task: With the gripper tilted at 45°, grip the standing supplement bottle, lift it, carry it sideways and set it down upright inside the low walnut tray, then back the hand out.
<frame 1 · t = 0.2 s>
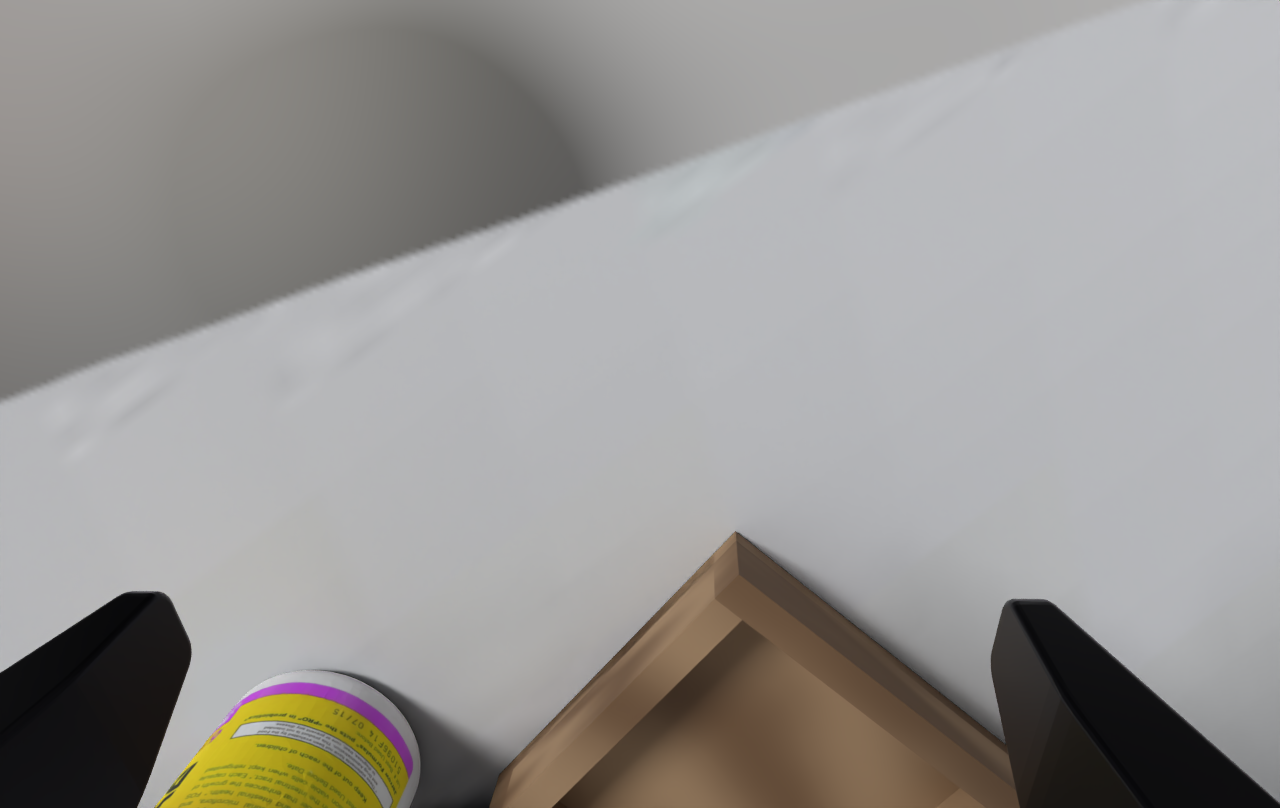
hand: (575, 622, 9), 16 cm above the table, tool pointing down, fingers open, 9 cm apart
supplement bottle: (332, 741, 30), on the table
walnut tray: (752, 765, 29), on the table
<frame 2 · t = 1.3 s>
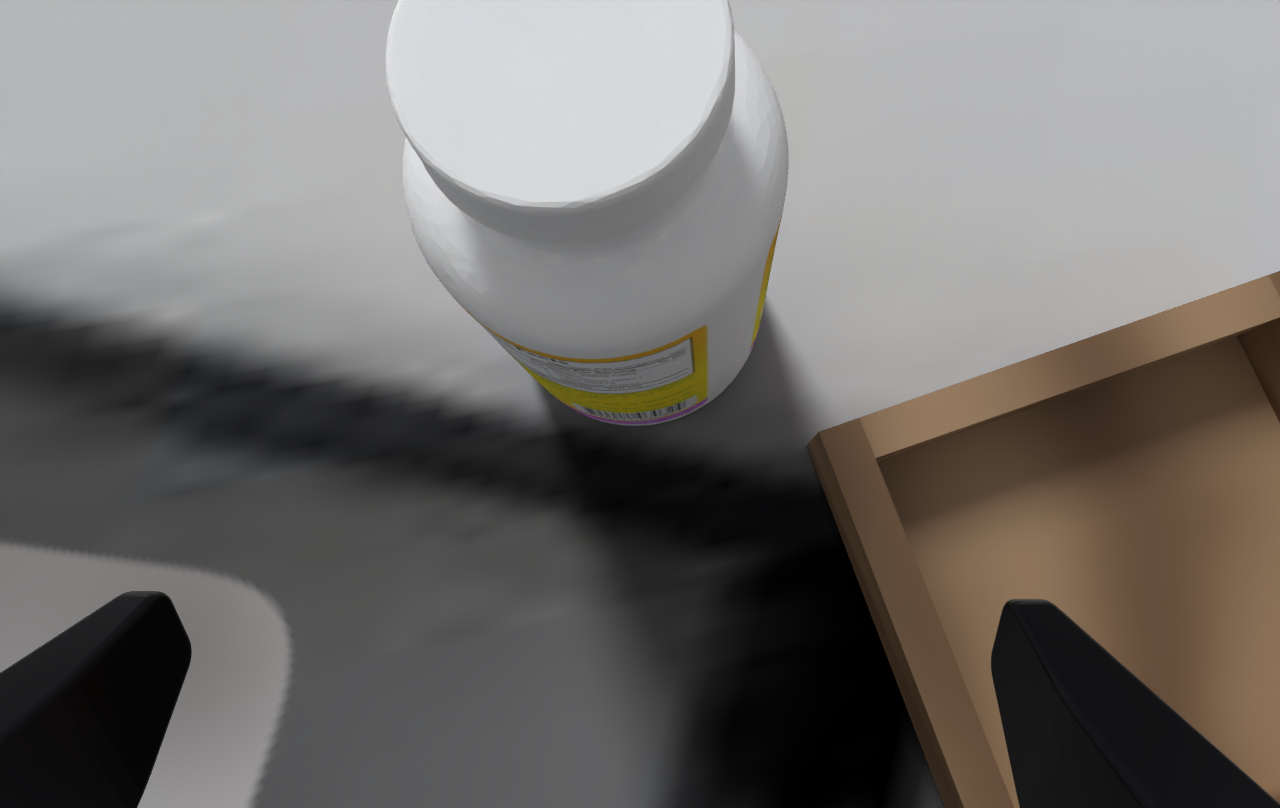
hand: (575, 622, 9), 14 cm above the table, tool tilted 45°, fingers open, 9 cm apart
supplement bottle: (637, 313, 24), on the table
walnut tray: (1121, 592, 22), on the table
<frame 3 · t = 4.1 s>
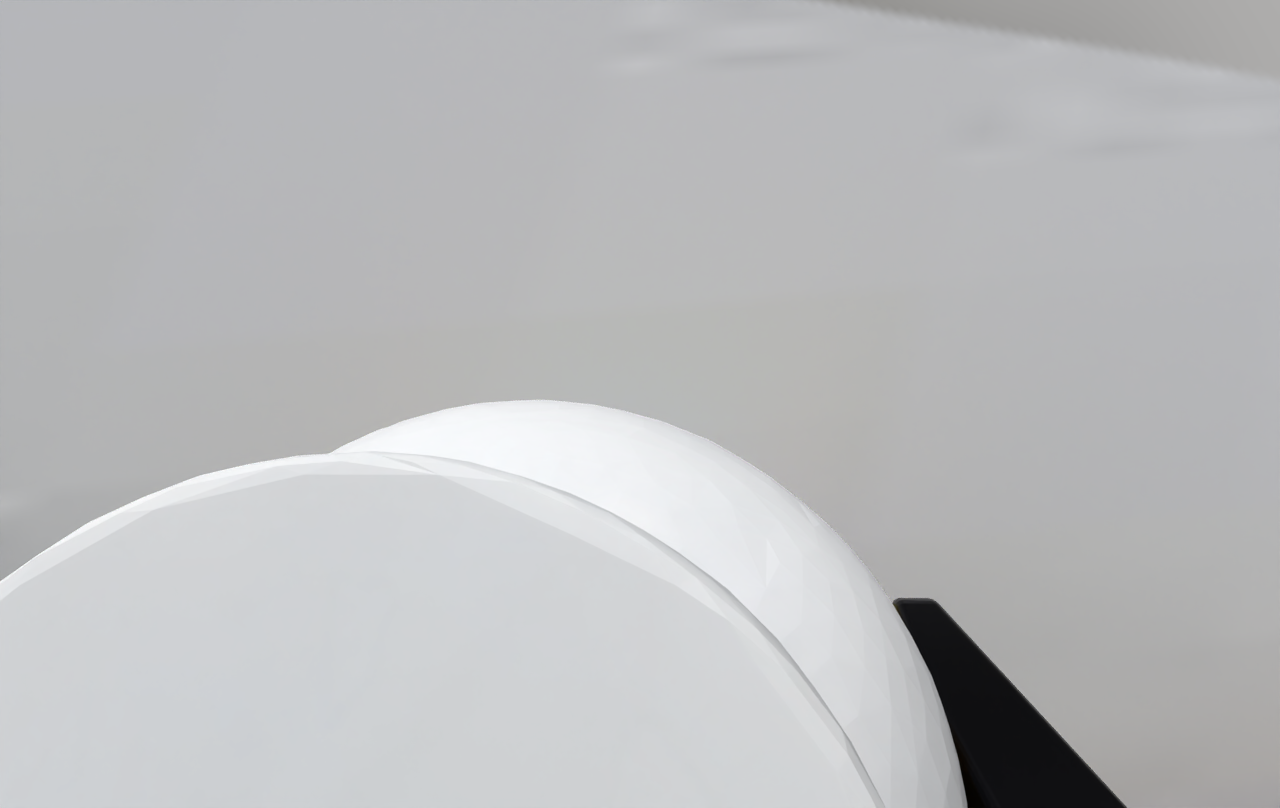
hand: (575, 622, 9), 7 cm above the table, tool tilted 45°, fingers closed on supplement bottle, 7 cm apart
supplement bottle: (628, 690, 16), on the table, touching gripper
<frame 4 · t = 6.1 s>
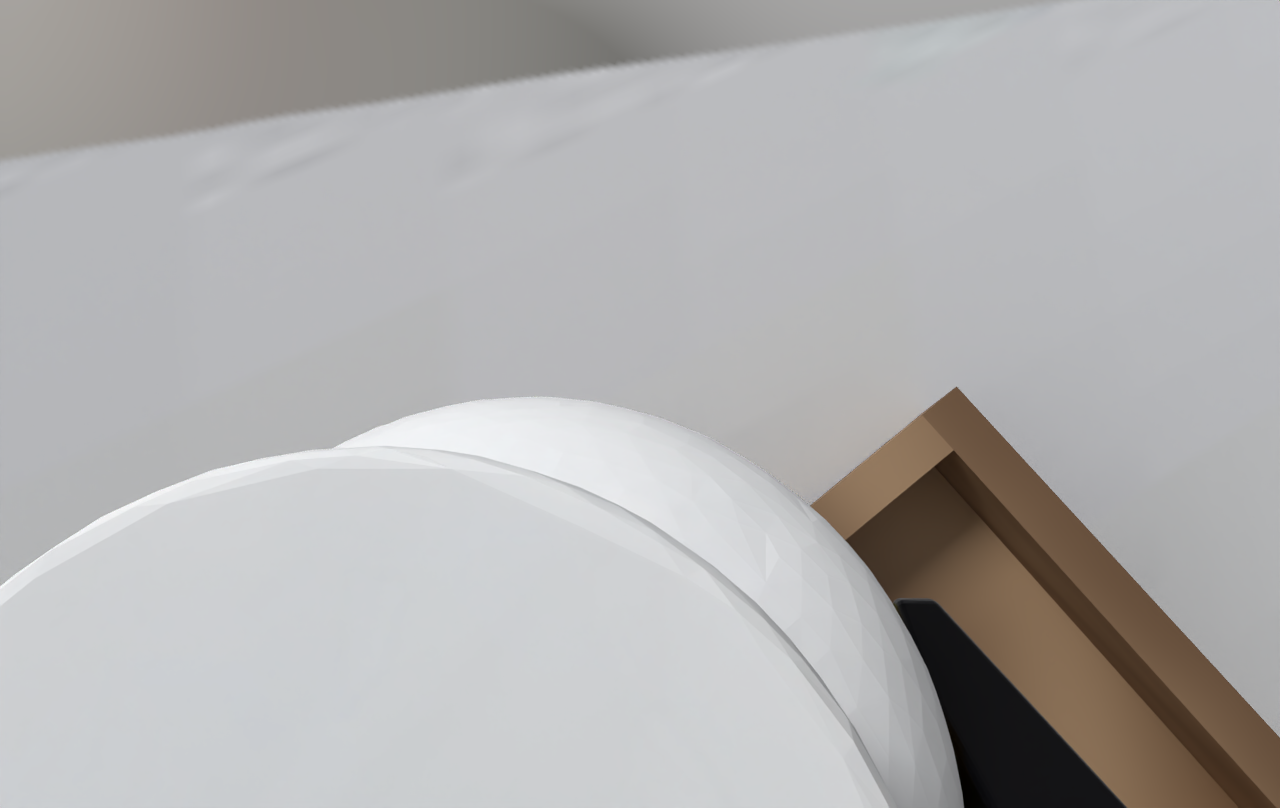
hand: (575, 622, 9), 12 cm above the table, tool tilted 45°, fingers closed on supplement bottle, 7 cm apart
supplement bottle: (621, 687, 16), point 5 cm above the table, touching gripper
walnut tray: (909, 768, 20), on the table
when the fingers open (8 cm above the table, at t = 8.5 s): supplement bottle stays where it is, resting on walnut tray.
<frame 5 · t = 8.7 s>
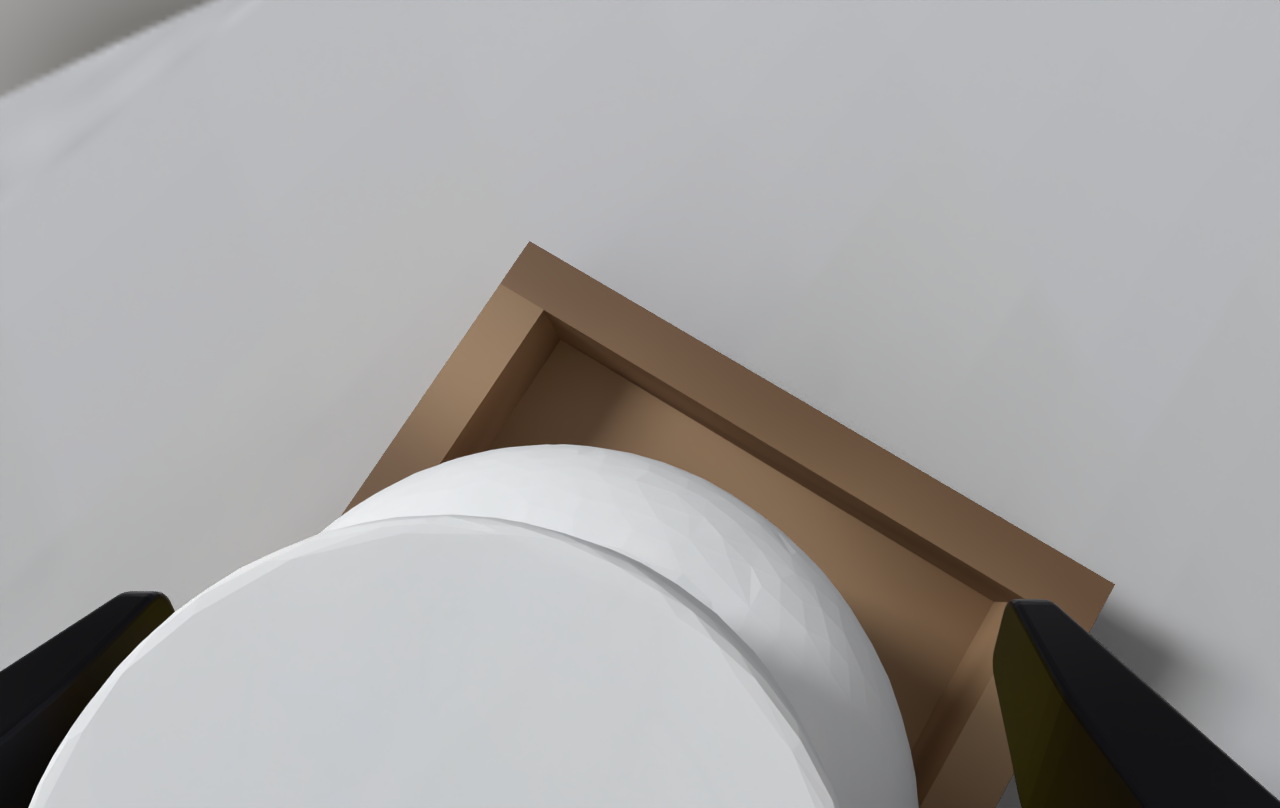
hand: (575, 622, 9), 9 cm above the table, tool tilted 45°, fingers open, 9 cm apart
supplement bottle: (630, 689, 17), resting on walnut tray
walnut tray: (635, 680, 18), on the table
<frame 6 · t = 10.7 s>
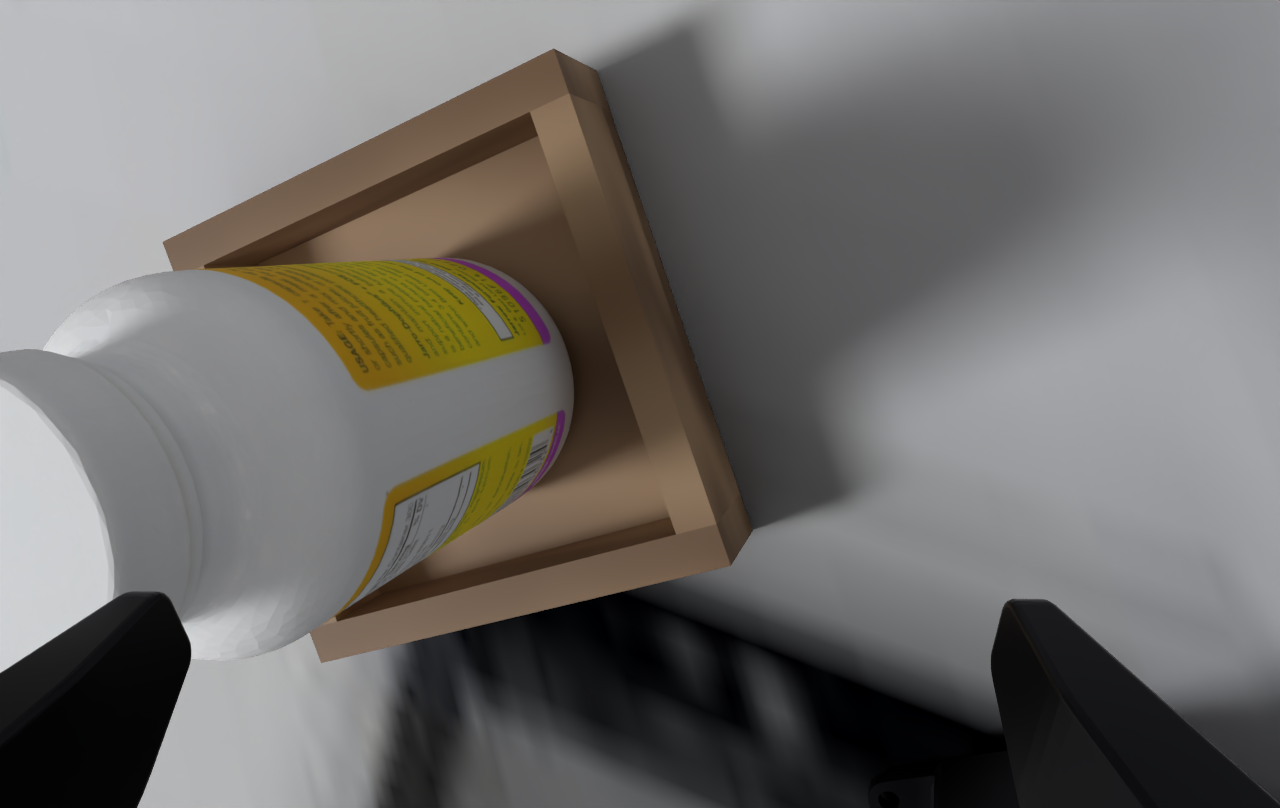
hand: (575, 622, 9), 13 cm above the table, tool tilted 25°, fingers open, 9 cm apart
supplement bottle: (470, 383, 24), resting on walnut tray
walnut tray: (475, 376, 24), on the table
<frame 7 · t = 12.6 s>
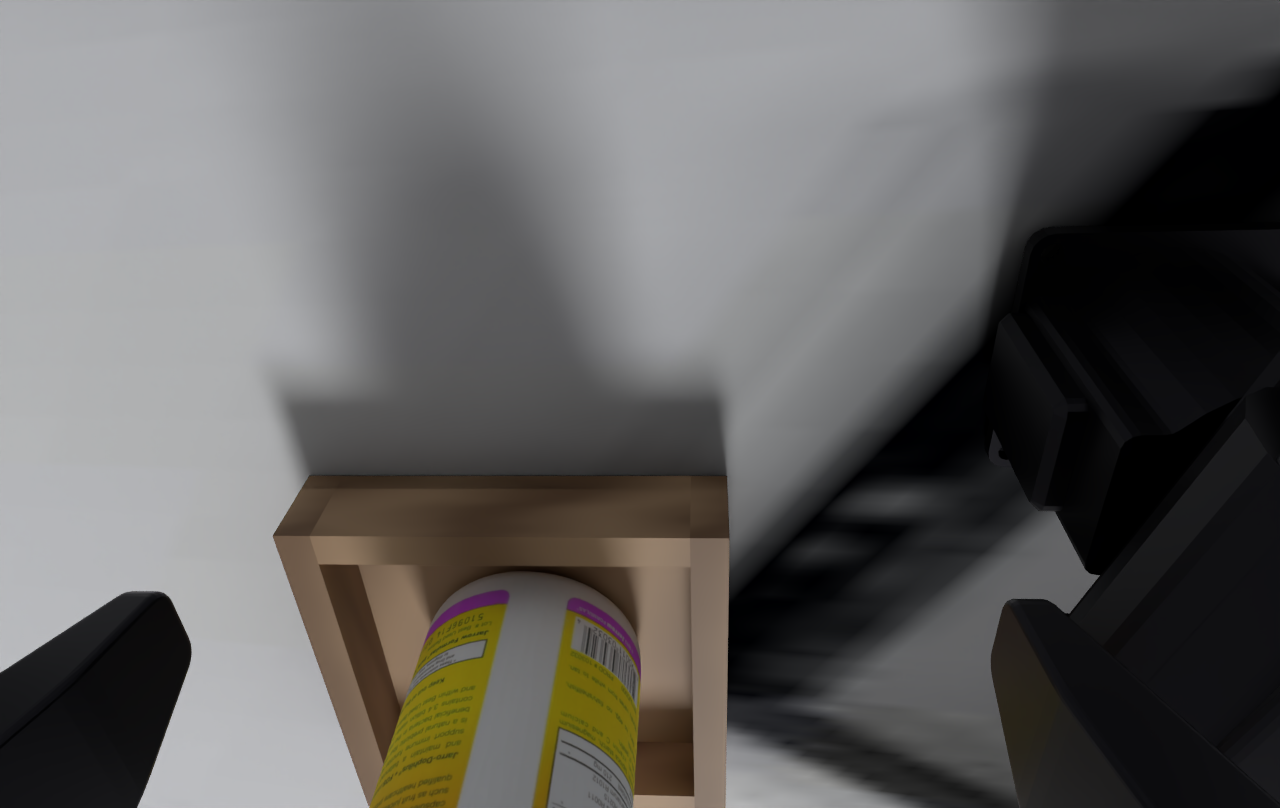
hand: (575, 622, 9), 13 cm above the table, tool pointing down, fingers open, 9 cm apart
supplement bottle: (539, 634, 28), resting on walnut tray
walnut tray: (537, 624, 28), on the table
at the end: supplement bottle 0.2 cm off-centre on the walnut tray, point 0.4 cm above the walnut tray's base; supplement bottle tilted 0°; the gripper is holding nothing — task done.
